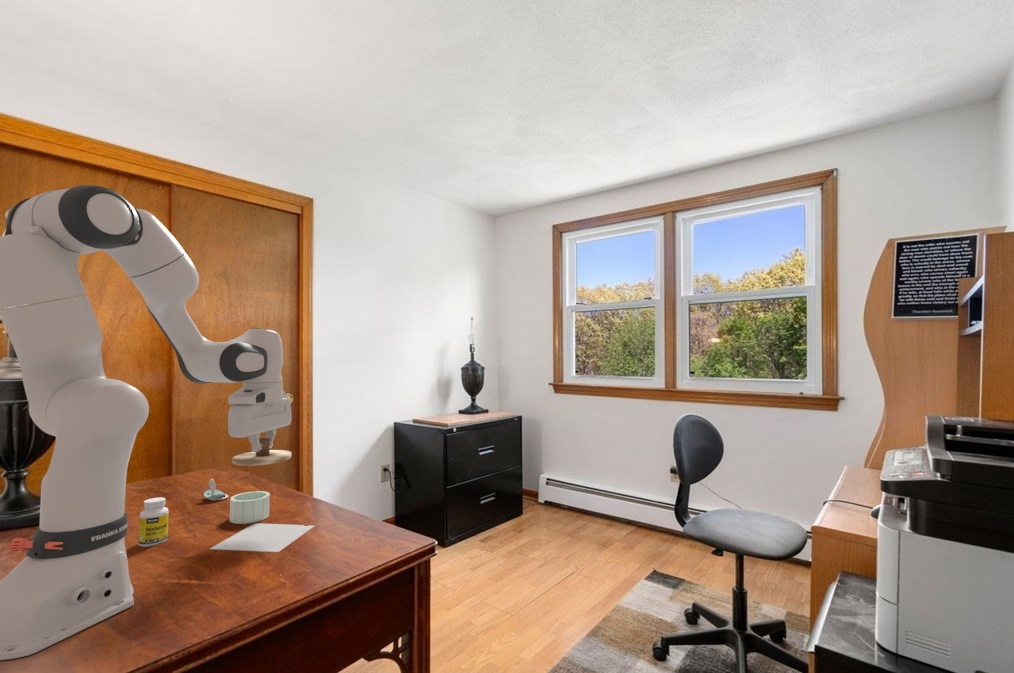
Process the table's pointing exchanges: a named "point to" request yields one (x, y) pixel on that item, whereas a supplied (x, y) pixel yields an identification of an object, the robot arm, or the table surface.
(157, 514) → the supplement bottle
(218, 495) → the pacifier
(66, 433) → the robot arm
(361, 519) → the table surface
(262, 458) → the lid
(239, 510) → the bowl
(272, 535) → the mat
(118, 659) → the table surface
